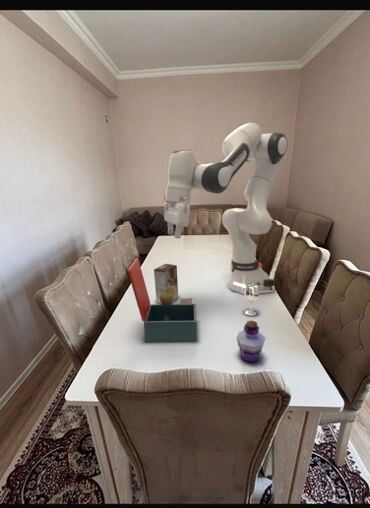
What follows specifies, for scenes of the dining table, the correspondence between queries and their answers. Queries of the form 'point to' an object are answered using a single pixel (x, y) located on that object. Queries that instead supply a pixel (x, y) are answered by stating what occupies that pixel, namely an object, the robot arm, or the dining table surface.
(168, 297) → the pepper shaker
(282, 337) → the dining table surface
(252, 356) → the potion bottle
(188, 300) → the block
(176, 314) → the lunchbox
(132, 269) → the lid
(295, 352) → the dining table surface
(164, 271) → the coffee box
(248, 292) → the wineglass
